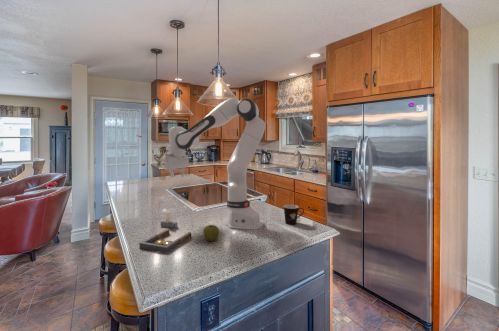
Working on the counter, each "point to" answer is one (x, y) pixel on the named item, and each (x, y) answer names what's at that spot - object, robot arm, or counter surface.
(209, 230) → the apple
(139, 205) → the counter surface
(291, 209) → the coffee mug
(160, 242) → the brass chip
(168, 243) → the brass chip
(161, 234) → the walnut slot rails
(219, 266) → the counter surface
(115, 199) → the counter surface
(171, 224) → the grey post with peg
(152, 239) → the grey angled bracket
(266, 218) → the counter surface
